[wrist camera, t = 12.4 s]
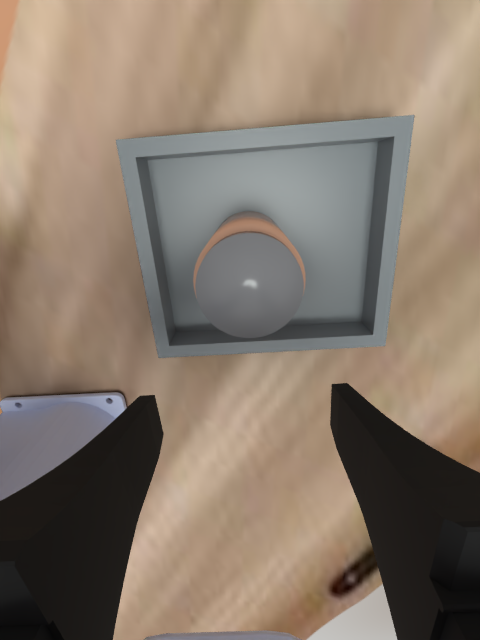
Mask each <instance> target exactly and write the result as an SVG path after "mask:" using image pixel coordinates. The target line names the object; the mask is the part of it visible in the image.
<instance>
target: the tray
mask: <svg viewBox="0 0 480 640" xmlns="http://www.w3.org/2000/svg"><path fill="white" fill-rule="evenodd" d="M413 122H414V115H408V116H396V117H384V118H372V119H360V120H348V121H336V122H324V123H312V124H300V125H288V126H276V127H264V128H252V129H240V130H228V131H216V132H204V133H192V134H180V135H168V136H156V137H144V138H132V139H120V140H116V144H117V149H118V154H119V159H120V164H121V169H122V174H123V180H124V185H125V190H126V195H127V200H128V205H129V210H130V215H131V220H132V225H133V230H134V236H135V241H136V246H137V251H138V256H139V261H140V266H141V271H142V276H143V281H144V286H145V292H146V297H147V302H148V307H149V312H150V317H151V322H152V327H153V332H154V337H155V342H156V348H157V353H158V358H167V357H186V356H205V355H224V354H243V353H262V352H281V351H300V350H319V349H338V348H357V347H376V346H385V344H386V336H387V328H388V320H389V312H390V304H391V297H392V289H393V281H394V273H395V265H396V257H397V249H398V241H399V233H400V225H401V217H402V210H403V202H404V194H405V186H406V178H407V170H408V162H409V154H410V146H411V138H412V130H413ZM243 211H255V212H259V213H262V214H264V215H266V216H268V217H270V218H271V219H272V220H273V221H274V222H275V223H276V224H277V225H278V226H279V228H280V229H281V230H282V231H283V233H284V234H285V235H286V237H287V238H288V239H289V240H290V242H291V243H292V244H293V246H294V247H295V248H296V250H297V251H298V253H299V255H300V257H301V259H302V262H303V265H304V269H305V277H306V282H305V290H304V294H303V297H302V301H301V304H300V306H299V308H298V310H297V312H296V314H295V315H294V316H293V318H292V319H291V320H290V321H289V322H288V323H287V324H286V325H285V326H284V327H282V328H281V329H279V330H278V331H276V332H274V333H272V334H269V335H266V336H263V337H258V338H241V337H236V336H232V335H229V334H227V333H225V332H223V331H221V330H219V329H218V328H216V327H215V326H214V325H213V324H212V323H211V322H210V321H209V320H208V319H207V318H206V317H205V315H204V314H203V312H202V310H201V308H200V306H199V304H198V301H197V298H196V295H195V291H194V283H193V277H194V269H195V265H196V262H197V259H198V257H199V255H200V253H201V252H202V250H203V249H204V247H205V246H206V245H207V243H208V242H209V240H210V239H211V237H212V236H213V235H214V233H215V232H216V230H217V229H218V227H219V226H220V225H221V224H222V222H223V221H224V220H226V219H227V218H228V217H230V216H231V215H233V214H236V213H239V212H243Z"/></svg>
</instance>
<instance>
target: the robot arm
mask: <svg viewBox="0 0 480 640" xmlns="http://www.w3.org/2000/svg"><path fill="white" fill-rule="evenodd" d="M108 398H110V399H112V400H113V401H112V400H109V399H108ZM0 407H1V410H2V412H3V413H1V414H0V640H113V635H114V629H115V623H116V618H117V613H118V608H119V603H120V597H121V592H122V587H123V582H124V578H125V573H126V568H127V564H128V559H129V555H130V550H131V546H132V542H133V538H134V533H135V529H136V525H137V522H138V518H139V515H140V512H141V509H142V506H143V503H144V500H145V497H146V494H147V491H148V488H149V485H150V482H151V480H152V477H153V474H154V471H155V468H156V465H157V462H158V458H159V454H160V450H161V445H162V439H163V430H162V425H161V421H160V416H159V412H158V408H157V403H156V399H155V395H147V396H140V397H138V398H137V399H136V400H135V401H134V402H133V403H132V404H131V405H130V406H129V407H126V403H125V399H124V396H123V395H122V394H121V393H118V392H113V393H92V394H71V395H51V396H30V397H9V398H4V399H3V400H2V401H0ZM330 425H331V429H332V433H333V437H334V441H335V444H336V448H337V450H338V453H339V456H340V458H341V461H342V463H343V466H344V468H345V470H346V473H347V475H348V478H349V480H350V483H351V485H352V488H353V490H354V493H355V495H356V497H357V500H358V502H359V505H360V508H361V511H362V513H363V517H364V520H365V523H366V526H367V530H368V533H369V536H370V540H371V543H372V547H373V550H374V554H375V557H376V561H377V564H378V568H379V571H380V575H381V578H382V582H383V586H384V589H385V593H386V597H387V601H388V604H389V608H390V612H391V616H392V620H393V624H394V628H395V632H396V636H397V639H398V640H480V473H479V472H477V471H475V470H473V469H471V468H469V467H467V466H465V465H463V464H461V463H459V462H457V461H455V460H453V459H451V458H449V457H448V456H446V455H444V454H442V453H440V452H439V451H437V450H435V449H433V448H432V447H430V446H428V445H427V444H425V443H424V442H422V441H420V440H419V439H417V438H416V437H414V436H413V435H411V434H410V433H408V432H407V431H405V430H404V429H403V428H401V427H400V426H398V425H397V424H396V423H394V422H393V421H392V420H390V419H389V418H388V417H386V416H385V415H384V414H383V413H381V412H380V411H379V410H378V409H376V408H375V407H374V406H373V405H372V404H371V403H369V402H368V401H367V400H366V399H365V398H364V397H362V396H361V395H360V394H359V393H358V392H357V391H356V390H355V389H353V388H352V387H351V386H350V385H349V384H348V383H343V384H332V393H331V420H330ZM144 640H301V639H299V638H297V637H295V636H293V635H291V634H289V633H283V632H275V631H236V632H201V633H166V634H161V635H155V636H150V637H146V638H145V639H144Z"/></svg>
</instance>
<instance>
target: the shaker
mask: <svg viewBox="0 0 480 640" xmlns="http://www.w3.org/2000/svg"><path fill="white" fill-rule="evenodd" d="M305 282H306V277H305V269H304V265H303V262H302V259H301V257H300V255H299V253H298V251H297V250H296V248H295V247H294V246H293V244H292V243H291V242H290V240H289V239H288V238H287V237H286V235H285V234H284V233H283V231H282V230H281V229H280V228H279V226H278V225H277V224H276V223H275V222H274V221H273V220H272V219H271V218H270V217H268V216H266V215H264V214H262V213H259V212H255V211H243V212H239V213H236V214H233V215H231V216H230V217H228V218H227V219H226V220H224V221H223V222H222V224H221V225H220V226H219V227H218V229H217V230H216V232H215V233H214V235H213V236H212V237H211V239H210V240H209V242H208V243H207V245H206V246H205V247H204V249H203V250H202V252H201V253H200V255H199V257H198V259H197V262H196V265H195V269H194V277H193V283H194V291H195V295H196V298H197V301H198V304H199V306H200V308H201V310H202V312H203V314H204V315H205V317H206V318H207V319H208V320H209V321H210V322H211V323H212V324H213V325H214V326H215V327H216V328H218V329H219V330H221V331H223V332H225V333H227V334H229V335H232V336H236V337H241V338H258V337H263V336H266V335H269V334H272V333H274V332H276V331H278V330H279V329H281V328H282V327H284V326H285V325H286V324H287V323H288V322H289V321H290V320H291V319H292V318H293V316H294V315H295V314H296V312H297V310H298V308H299V306H300V304H301V301H302V297H303V294H304V290H305Z"/></svg>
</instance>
